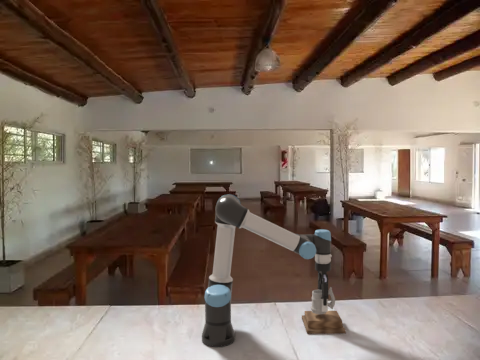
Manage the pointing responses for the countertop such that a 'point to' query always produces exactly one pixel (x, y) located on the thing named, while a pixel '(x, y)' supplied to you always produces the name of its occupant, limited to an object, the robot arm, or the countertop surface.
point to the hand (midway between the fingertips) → (323, 308)
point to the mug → (317, 301)
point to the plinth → (323, 323)
